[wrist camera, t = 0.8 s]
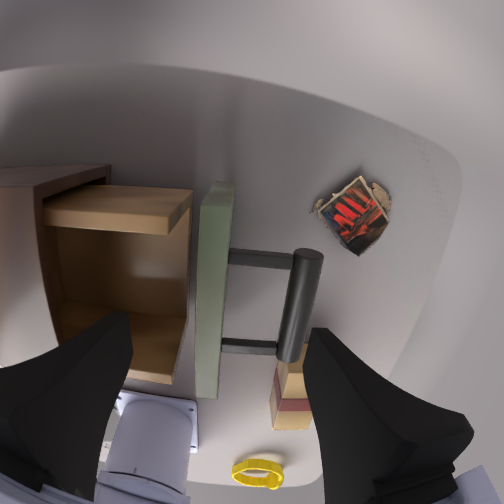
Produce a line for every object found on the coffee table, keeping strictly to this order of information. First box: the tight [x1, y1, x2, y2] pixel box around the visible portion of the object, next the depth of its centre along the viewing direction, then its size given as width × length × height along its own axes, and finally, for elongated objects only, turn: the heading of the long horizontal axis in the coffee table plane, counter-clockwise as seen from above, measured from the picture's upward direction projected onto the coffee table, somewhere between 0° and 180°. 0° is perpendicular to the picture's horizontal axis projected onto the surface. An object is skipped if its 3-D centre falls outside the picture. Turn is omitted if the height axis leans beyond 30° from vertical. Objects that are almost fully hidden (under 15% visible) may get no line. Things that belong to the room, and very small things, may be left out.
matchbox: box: [311, 176, 392, 256], centre depth 19 cm, size 5×5×1 cm
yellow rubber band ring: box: [232, 459, 284, 490], centre depth 29 cm, size 6×3×6 cm
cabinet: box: [0, 164, 111, 367], centre depth 15 cm, size 13×11×8 cm
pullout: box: [42, 181, 324, 399], centre depth 16 cm, size 17×10×7 cm, turn 84°
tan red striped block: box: [270, 343, 313, 430], centre depth 22 cm, size 7×3×4 cm, turn 174°
